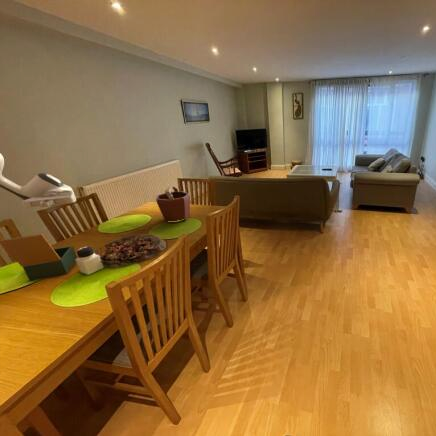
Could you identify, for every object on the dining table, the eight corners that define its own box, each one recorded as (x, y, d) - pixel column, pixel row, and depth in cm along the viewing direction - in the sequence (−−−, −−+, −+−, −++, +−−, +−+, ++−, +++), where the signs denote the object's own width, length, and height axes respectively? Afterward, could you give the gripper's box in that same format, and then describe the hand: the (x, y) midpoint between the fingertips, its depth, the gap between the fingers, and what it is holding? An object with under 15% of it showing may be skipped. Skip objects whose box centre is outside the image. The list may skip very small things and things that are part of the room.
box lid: (-2, 240, 97) (-3, 241, 97) (42, 233, 103) (41, 235, 102) (22, 265, 108) (21, 266, 108) (60, 258, 113) (60, 259, 113)
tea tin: (44, 264, 124) (38, 251, 121) (77, 258, 129) (72, 245, 126) (29, 281, 111) (22, 267, 108) (66, 273, 116) (61, 260, 113)
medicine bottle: (104, 267, 121) (96, 246, 117) (88, 275, 115) (79, 253, 111) (95, 264, 124) (88, 244, 119) (79, 271, 118) (71, 250, 113)
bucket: (183, 225, 170) (177, 191, 161) (153, 225, 171) (144, 191, 161) (197, 213, 193) (192, 183, 183) (170, 213, 193) (163, 182, 184)
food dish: (89, 277, 115) (83, 264, 112) (99, 249, 141) (94, 238, 138) (169, 256, 131) (165, 243, 128) (164, 234, 157) (161, 223, 154)
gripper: (27, 194, 126) (13, 201, 115) (76, 190, 134) (67, 196, 123) (32, 205, 129) (18, 214, 117) (79, 200, 137) (71, 208, 125)
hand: (43, 205), depth 120 cm, fingers closed
